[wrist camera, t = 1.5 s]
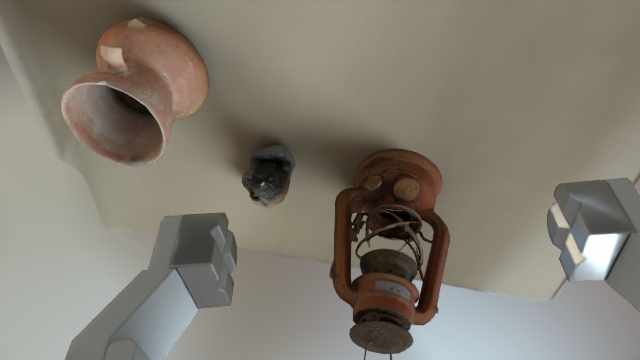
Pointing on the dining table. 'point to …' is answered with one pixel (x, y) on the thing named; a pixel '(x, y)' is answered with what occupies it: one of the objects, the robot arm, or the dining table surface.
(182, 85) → the ceramic jug
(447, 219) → the dining table surface
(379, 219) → the lantern
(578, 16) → the dining table surface
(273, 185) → the bison figurine
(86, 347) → the robot arm
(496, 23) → the dining table surface
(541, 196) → the dining table surface
